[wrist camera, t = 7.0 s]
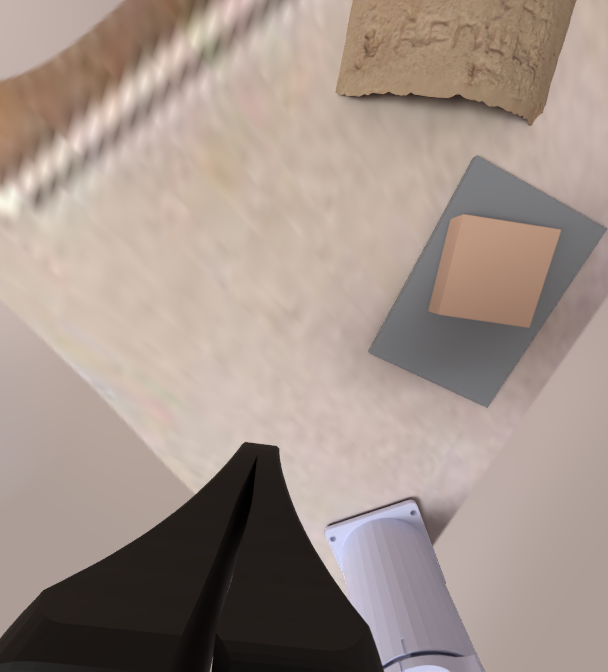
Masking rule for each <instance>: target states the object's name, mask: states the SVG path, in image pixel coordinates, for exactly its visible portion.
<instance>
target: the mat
mask: <svg viewBox="0 0 608 672" xmlns="http://www.w3.org/2000/svg"><path fill="white" fill-rule="evenodd" d="M463 214H465V215H472V216H478V217H484V218H491V219H497V220H503V221H510V222H516V223H522V224H529V225H535V226H541V227H548V228H554V229H560V230H561V232H560V236H559V239H558V242H557V245H556V248H555V251H554V254H553V257H552V260H551V263H550V266H549V269H548V272H547V275H546V278H545V281H544V284H543V287H542V291H541V294H540V297H539V300H538V303H537V306H536V309H535V312H534V315H533V318H532V321H531V324H530V327H529V328H528V327H521V326H514V325H507V324H500V323H493V322H486V321H480V320H473V319H466V318H459V317H452V316H445V315H438V314H435V313H432V312H429V311H428V309H429V305H430V301H431V297H432V293H433V288H434V284H435V280H436V276H437V272H438V268H439V264H440V260H441V256H442V251H443V247H444V243H445V239H446V235H447V231H448V227H449V223H450V219H452V218H454V217H457V216H460V215H463ZM606 230H607V228H605V227H604V226H602V225H600V224H598V223H596V222H595V221H593V220H591V219H589V218H588V217H586V216H584V215H582V214H580V213H579V212H577V211H575V210H573V209H572V208H570V207H568V206H566V205H564V204H563V203H561V202H559V201H557V200H556V199H554V198H552V197H550V196H548V195H547V194H545V193H543V192H541V191H540V190H538V189H536V188H534V187H532V186H531V185H529V184H527V183H525V182H524V181H522V180H520V179H518V178H517V177H515V176H513V175H511V174H509V173H508V172H506V171H504V170H502V169H501V168H499V167H497V166H495V165H493V164H492V163H490V162H488V161H486V160H485V159H483V158H481V157H479V156H475V157H474V158H473V159H472V161H471V163H470V165H469V166H468V168H467V170H466V172H465V174H464V176H463V178H462V179H461V181H460V183H459V185H458V187H457V189H456V190H455V192H454V194H453V196H452V198H451V200H450V202H449V203H448V205H447V207H446V209H445V211H444V213H443V214H442V216H441V218H440V220H439V222H438V224H437V226H436V227H435V229H434V231H433V233H432V235H431V237H430V239H429V240H428V242H427V244H426V246H425V248H424V250H423V251H422V253H421V255H420V257H419V259H418V261H417V263H416V264H415V266H414V268H413V270H412V272H411V274H410V275H409V277H408V279H407V281H406V283H405V285H404V287H403V288H402V290H401V292H400V294H399V296H398V298H397V300H396V301H395V303H394V305H393V307H392V309H391V311H390V312H389V314H388V316H387V318H386V320H385V322H384V324H383V325H382V327H381V329H380V331H379V333H378V335H377V336H376V338H375V340H374V342H373V344H372V346H371V348H370V349H369V351H368V352H369V353H370V354H373V355H375V356H377V357H379V358H381V359H383V360H385V361H388V362H390V363H392V364H394V365H396V366H398V367H401V368H403V369H405V370H407V371H409V372H411V373H414V374H416V375H418V376H420V377H422V378H424V379H426V380H429V381H431V382H433V383H435V384H437V385H439V386H442V387H444V388H446V389H448V390H450V391H452V392H454V393H457V394H459V395H461V396H463V397H465V398H467V399H470V400H472V401H474V402H476V403H478V404H480V405H482V406H485V407H487V408H488V406H489V405H490V403H491V402H492V400H493V399H494V397H495V396H496V394H497V393H498V391H499V390H500V388H501V387H502V385H503V384H504V382H505V381H506V379H507V378H508V376H509V375H510V373H511V372H512V370H513V369H514V367H515V366H516V364H517V363H518V361H519V360H520V358H521V357H522V355H523V354H524V352H525V351H526V349H527V348H528V346H529V345H530V343H531V342H532V340H533V339H534V337H535V336H536V334H537V333H538V331H539V330H540V328H541V327H542V325H543V324H544V322H545V321H546V319H547V318H548V316H549V315H550V313H551V312H552V310H553V309H554V307H555V306H556V304H557V303H558V301H559V300H560V299H561V297H562V296H563V294H564V293H565V291H566V290H567V288H568V287H569V285H570V284H571V282H572V281H573V279H574V278H575V276H576V275H577V273H578V272H579V270H580V269H581V267H582V266H583V264H584V263H585V261H586V260H587V258H588V257H589V255H590V254H591V252H592V251H593V249H594V248H595V246H596V245H597V243H598V242H599V240H600V239H601V237H602V236H603V234H604V233H605V231H606Z"/></svg>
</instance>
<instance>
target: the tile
mask: <svg viewBox="0 0 608 672" xmlns="http://www.w3.org/2000/svg"><path fill="white" fill-rule="evenodd" d="M560 232H561V230H560V229H554V228H548V227H541V226H535V225H529V224H522V223H516V222H510V221H503V220H497V219H491V218H484V217H478V216H472V215H465V214H463V215H460V216H457V217H454V218H452V219H450V223H449V227H448V231H447V235H446V239H445V243H444V247H443V251H442V256H441V260H440V264H439V268H438V272H437V276H436V280H435V284H434V288H433V293H432V297H431V301H430V305H429V309H428V311H429V312H432V313H435V314H438V315H445V316H452V317H459V318H466V319H473V320H480V321H486V322H493V323H500V324H507V325H514V326H521V327H528V328H529V327H530V324H531V321H532V318H533V315H534V312H535V309H536V306H537V303H538V300H539V297H540V294H541V291H542V287H543V284H544V281H545V278H546V275H547V272H548V269H549V266H550V263H551V260H552V257H553V254H554V251H555V248H556V245H557V242H558V239H559V236H560Z"/></svg>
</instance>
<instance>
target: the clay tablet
mask: <svg viewBox="0 0 608 672" xmlns="http://www.w3.org/2000/svg"><path fill="white" fill-rule="evenodd" d="M575 3H576V0H353V3H352V8H351V13H350V18H349V23H348V29H347V35H346V43H345V46H344V52H343V57H342V62H341V68H340V74H339V79H338V83H337V87H336V92H337V93H338V94H339V95H343V94H345V95H346V96H358V97H360V96H361V95H363V94H366V95H369V94H371V93H377V94H385V93H387V92H391V93H392V94H395V95H400V96H402V95H408V94H409V93H411V92H412V93H413V94H414V95H422V96H429V97H438V98H449V97H452V96H454V95H456V94H459V95H461V96H462V97H464V98H466V99H469V100H476V101H478V102H480V101H483V102H484V103H485V104H486V105H488V106H489V107H491V106H493V107H495V106H499V107H501V108H503V109H504V110H506V111H507V112H509V111H511V112H512V113H513V114H518V115H519V116H523V119H527V121H528V124H529V125H532V124H533V122H534V120H535V119H536V118H537V117H538V115H540V114H542V113H543V109H544V107H545V105H546V101H547V97H548V93H549V88H550V84H551V81H552V78H553V75H554V72H555V69H556V65H557V61H558V57H559V54H560V52H561V49H562V46H563V43H564V40H565V36H566V33H567V30H568V27H569V24H570V19H571V15H572V12H573V9H574V6H575Z"/></svg>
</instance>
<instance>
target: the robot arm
mask: <svg viewBox="0 0 608 672" xmlns="http://www.w3.org/2000/svg"><path fill="white" fill-rule="evenodd" d="M412 510H414V511H413V512H411V511H412ZM325 536H326V538H327V541H328V543H329V545H330V547H331V549H332V551H333V553H334V556H335V558H336V560H337V562H338V564H339V566H340V568H341V570H342V573H343V575H344V577H345V585H346V592H347V597H346V596H345V595H344V593H343V592H342V591H341V589H340V588H339V586H338V585H337V583H336V582H335V580H334V579H333V578H332V576H331V575H330V573H329V572H328V570H327V568H326V567H325V565H324V563H323V562H322V560H321V559H320V557H319V555H318V554H317V552H316V550H315V549H314V547H313V545H312V544H311V542H310V540H309V538H308V536H307V534H306V532H305V530H304V528H303V526H302V524H301V522H300V520H299V518H298V515H297V513H296V511H295V508H294V506H293V503H292V501H291V498H290V495H289V492H288V489H287V486H286V483H285V479H284V476H283V472H282V468H281V463H280V456H279V448H278V447H277V446H272V445H264V444H256V443H248V442H245V443H243V444H242V445H241V447H240V448H239V449H238V451H237V452H236V453H235V454H234V455H233V457H232V458H231V459H230V460H229V461H228V463H227V464H226V465H225V466H224V467H223V468H222V469H221V470H220V471H219V472H218V473H217V474H216V475H215V476H214V477H213V478H212V479H211V480H210V481H209V482H208V483H207V484H206V485H205V486H204V487H203V488H202V489H201V490H200V491H199V492H198V493H197V494H196V495H194V496H193V497H192V498H191V499H190V500H189V501H188V502H187V503H185V504H184V505H183V506H182V507H180V508H179V509H178V510H177V511H176V512H174V513H173V514H171V515H170V516H169V517H167V518H166V519H165V520H163V521H162V522H161V523H159V524H158V525H156V526H155V527H154V528H152V529H151V530H150V531H148V532H147V533H145V534H144V535H142V536H141V537H139V538H138V539H136V540H134V541H133V542H131V543H130V544H128V545H126V546H125V547H123V548H121V549H120V550H118V551H116V552H115V553H113V554H111V555H110V556H108V557H106V558H105V559H103V560H101V561H100V562H97V563H96V564H94V565H92V566H90V567H88V568H86V569H84V570H82V571H80V572H78V573H76V574H74V575H73V576H71V577H69V578H67V579H65V580H63V581H61V582H59V583H57V584H55V585H53V586H51V587H49V588H47V589H45V590H43V591H42V592H41V593H40V595H39V596H38V597H37V598H36V599H35V600H34V601H33V602H32V603H31V604H30V605H29V606H28V607H27V609H25V610H24V611H23V613H22V614H21V615H20V616H19V617H18V618H17V619H16V620H15V622H14V623H13V624H12V625H11V626H10V627H9V628H8V630H7V631H6V632H5V633H4V634H3V636H2V637H1V638H0V672H210V667H211V663H212V658H213V663H212V672H485V670H484V668H483V666H482V664H481V663H480V660H479V658H478V656H477V653H476V651H475V649H474V648H473V645H472V642H471V640H470V638H469V636H468V634H467V632H466V629H465V627H464V625H463V623H462V620H461V618H460V616H459V614H458V612H457V609H456V607H455V605H454V603H453V601H452V598H451V596H450V594H449V592H448V589H447V587H446V585H445V584H446V582H445V579H444V576H443V574H442V571H441V568H440V565H439V563H438V560H437V557H436V555H435V552H434V549H433V546H432V544H431V541H430V538H429V536H428V533H427V530H426V527H425V525H424V522H423V519H422V517H421V514H420V511H419V508H418V506H417V504H416V502H415V501H414V500H407V501H404V502H401V503H398V504H394V505H391V506H388V507H385V508H382V509H379V510H376V511H373V512H370V513H367V514H364V515H361V516H358V517H355V518H352V519H349V520H346V521H343V522H340V523H337V524H334V525H331V526H328V527H326V528H325ZM333 536H334V537H333ZM232 575H233V576H232ZM230 582H231V583H230ZM229 585H230V586H229ZM228 589H229V590H228Z"/></svg>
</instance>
